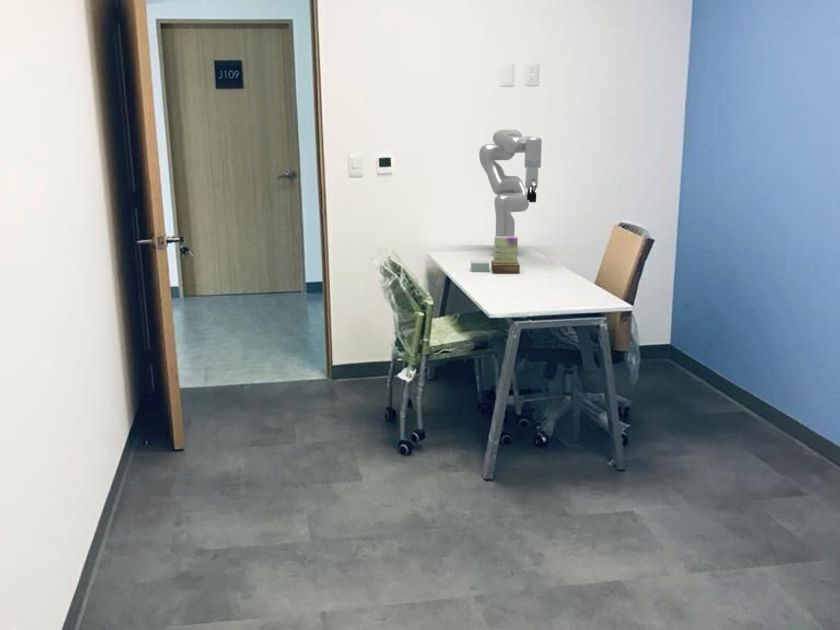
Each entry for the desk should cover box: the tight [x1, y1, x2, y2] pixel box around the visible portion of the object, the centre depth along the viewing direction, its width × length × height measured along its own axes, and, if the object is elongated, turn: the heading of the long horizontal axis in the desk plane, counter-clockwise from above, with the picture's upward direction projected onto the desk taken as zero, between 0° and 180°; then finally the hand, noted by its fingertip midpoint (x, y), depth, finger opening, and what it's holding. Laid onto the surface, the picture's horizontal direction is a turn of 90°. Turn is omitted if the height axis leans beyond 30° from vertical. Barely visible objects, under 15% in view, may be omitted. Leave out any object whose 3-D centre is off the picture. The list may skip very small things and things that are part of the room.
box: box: [493, 235, 519, 264], centre depth 366 cm, size 10×6×12 cm, turn 87°
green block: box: [470, 259, 490, 273], centre depth 370 cm, size 8×8×4 cm
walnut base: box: [490, 259, 521, 275], centre depth 368 cm, size 12×12×4 cm
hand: (531, 201), depth 378 cm, fingers open, 9 cm apart
